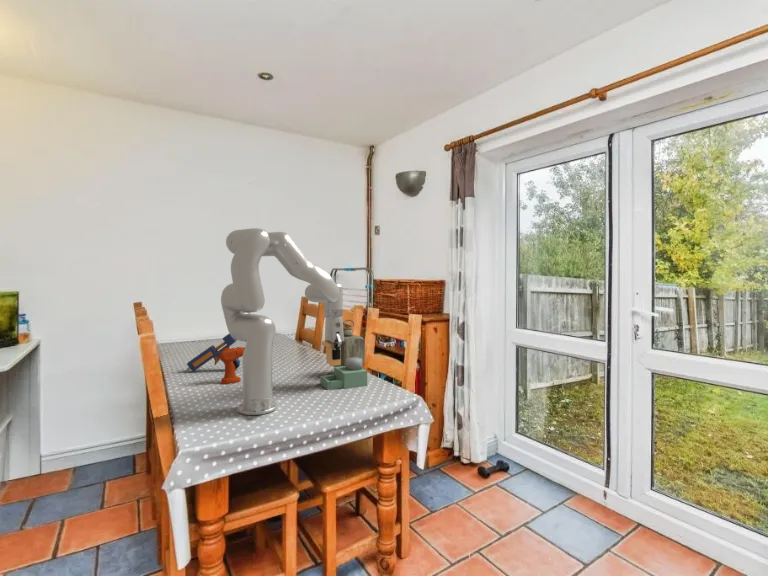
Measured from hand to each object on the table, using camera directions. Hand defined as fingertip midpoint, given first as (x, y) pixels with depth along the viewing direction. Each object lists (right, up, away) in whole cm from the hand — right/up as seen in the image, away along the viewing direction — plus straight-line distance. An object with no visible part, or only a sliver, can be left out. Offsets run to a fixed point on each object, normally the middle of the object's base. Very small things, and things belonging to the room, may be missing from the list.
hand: (333, 357), depth 163 cm
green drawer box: (+4, -11, +2) cm, 12 cm away
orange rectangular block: (0, -3, 0) cm, 3 cm away
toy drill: (-39, -11, +6) cm, 41 cm away
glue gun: (-58, -10, +21) cm, 62 cm away
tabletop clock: (+4, -11, +17) cm, 21 cm away
